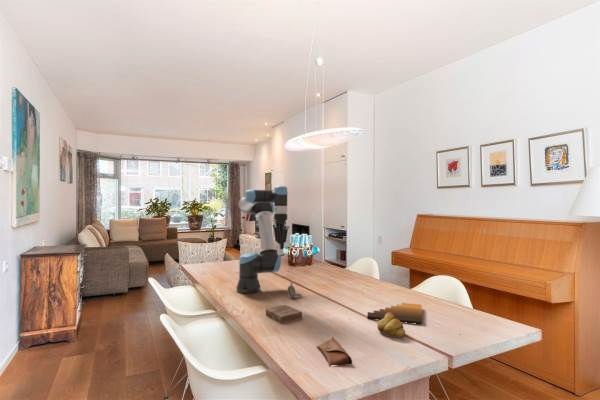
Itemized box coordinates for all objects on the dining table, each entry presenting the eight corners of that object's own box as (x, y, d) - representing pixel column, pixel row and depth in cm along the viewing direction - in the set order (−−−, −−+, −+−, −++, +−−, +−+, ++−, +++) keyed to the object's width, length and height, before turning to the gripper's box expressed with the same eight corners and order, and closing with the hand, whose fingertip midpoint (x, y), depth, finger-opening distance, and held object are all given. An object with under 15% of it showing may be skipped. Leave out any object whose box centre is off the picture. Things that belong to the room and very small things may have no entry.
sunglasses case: (314, 345, 137) (322, 330, 138) (328, 353, 139) (336, 338, 140) (329, 367, 120) (339, 350, 121) (346, 375, 122) (355, 358, 122)
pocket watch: (303, 296, 207) (303, 279, 207) (298, 300, 199) (298, 282, 199) (290, 295, 210) (290, 278, 210) (285, 298, 202) (285, 281, 202)
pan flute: (367, 320, 168) (421, 326, 160) (367, 313, 168) (421, 319, 160) (373, 305, 192) (421, 310, 184) (373, 299, 192) (421, 303, 184)
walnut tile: (265, 309, 173) (281, 316, 162) (285, 304, 180) (301, 311, 169) (265, 316, 173) (281, 324, 162) (285, 311, 180) (301, 319, 169)
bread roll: (410, 338, 146) (410, 319, 146) (391, 342, 142) (392, 322, 142) (390, 327, 157) (391, 310, 157) (373, 331, 154) (373, 313, 153)
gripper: (269, 213, 201) (268, 253, 201) (281, 213, 190) (281, 256, 190) (279, 212, 205) (279, 252, 205) (292, 213, 195) (292, 255, 195)
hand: (280, 254), depth 198 cm, fingers closed
